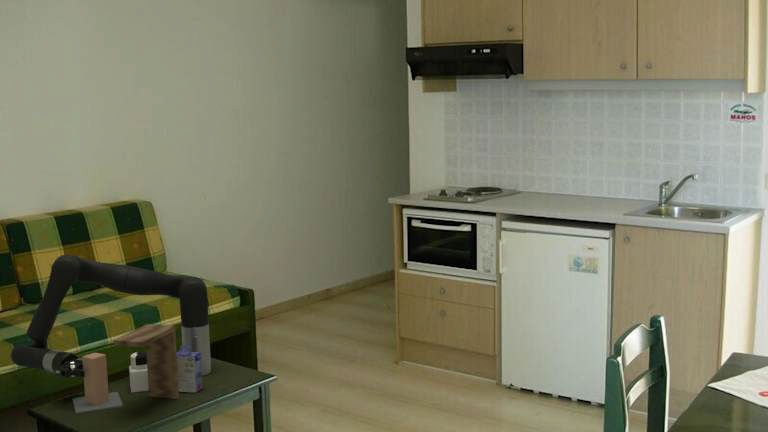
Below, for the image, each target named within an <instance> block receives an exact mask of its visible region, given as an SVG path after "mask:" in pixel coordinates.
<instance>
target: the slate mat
mask: <svg viewBox="0 0 768 432" xmlns="http://www.w3.org/2000/svg"><path fill="white" fill-rule="evenodd" d="M108 394H109V401H107V402H104V403H102V404H99V405H92V404H88V403H86V402H85V395H84V396H79V397H72V403H73V408H74V411H75V415H80V414H87V413H92V412H100V411H106V410H115V409H120V408H124V405H123V401H122V399H121V397H120V394H119V392H118V391H115V392H114V391H113V392H108Z"/></svg>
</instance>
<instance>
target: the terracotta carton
mask: <svg viewBox="0 0 768 432" xmlns="http://www.w3.org/2000/svg"><path fill="white" fill-rule="evenodd" d="M81 357H82V358H81V359H83V370H84V371H85V377H83V384H84V386H83V387H84V396H85V402H86V403H88V404H92V405H99V404H102V403H104V402H107V401H109V394H108V393H109V382H108V381H109V380H108V368H107V367H108V365H107V354H104V353H98V352H93V353H90V354H87V355H84V356H81Z"/></svg>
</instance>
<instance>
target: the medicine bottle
mask: <svg viewBox="0 0 768 432" xmlns="http://www.w3.org/2000/svg"><path fill="white" fill-rule="evenodd" d="M128 371H129V373H128V374H129V386H130V392H131V393H138V392H149V388H148V371H147V355H146V351H136V352H134V353H132V354H130V365H128Z"/></svg>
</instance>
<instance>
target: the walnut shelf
mask: <svg viewBox="0 0 768 432" xmlns="http://www.w3.org/2000/svg"><path fill="white" fill-rule="evenodd" d="M112 341H113V342H112V343H113V344H112V345H113V346H120V347H121V346H123V347H135V348H144V347H145V352H146V355H147V371H148V388H149V391H148V396H149V397H154V398H165V399H175V400H176V399H179V398H180V392H179V389H178V370H177V352H178V351H177V336H176V325H169V324H168V325H167V324H151V323H147V324H144V325H142V326H140V327H138V328H136V329H133V330H131V331H130V332H127V333H126V334H124V335H121V336H118V337H117V338H115V339H113V340H112Z"/></svg>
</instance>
